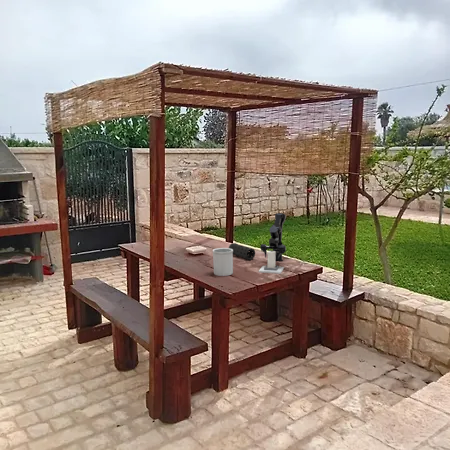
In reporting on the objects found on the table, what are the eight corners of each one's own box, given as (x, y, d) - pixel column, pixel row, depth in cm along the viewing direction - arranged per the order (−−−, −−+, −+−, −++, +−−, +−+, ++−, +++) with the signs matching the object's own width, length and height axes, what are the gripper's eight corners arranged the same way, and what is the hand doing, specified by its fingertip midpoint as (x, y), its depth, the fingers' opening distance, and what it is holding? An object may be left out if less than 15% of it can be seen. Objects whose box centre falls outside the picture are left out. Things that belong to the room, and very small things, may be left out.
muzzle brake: (246, 261, 349) (246, 248, 347) (227, 255, 372) (227, 243, 371) (255, 259, 354) (255, 247, 353) (236, 253, 377) (236, 242, 376)
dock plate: (263, 267, 329) (263, 263, 329) (283, 268, 325) (283, 264, 325) (258, 272, 314) (258, 268, 314) (280, 273, 310) (280, 270, 309)
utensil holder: (215, 277, 303) (215, 252, 300) (210, 271, 317) (210, 248, 314) (235, 275, 307) (235, 251, 304) (229, 270, 321) (229, 247, 318)
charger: (268, 267, 323) (268, 250, 321) (275, 268, 321) (275, 250, 319) (267, 269, 318) (267, 251, 316) (274, 269, 316) (274, 252, 314)
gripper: (260, 233, 324) (257, 251, 315) (285, 234, 319) (283, 252, 310) (262, 241, 332) (259, 259, 324) (286, 243, 327) (284, 260, 318)
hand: (271, 257), depth 319 cm, fingers open, 9 cm apart
